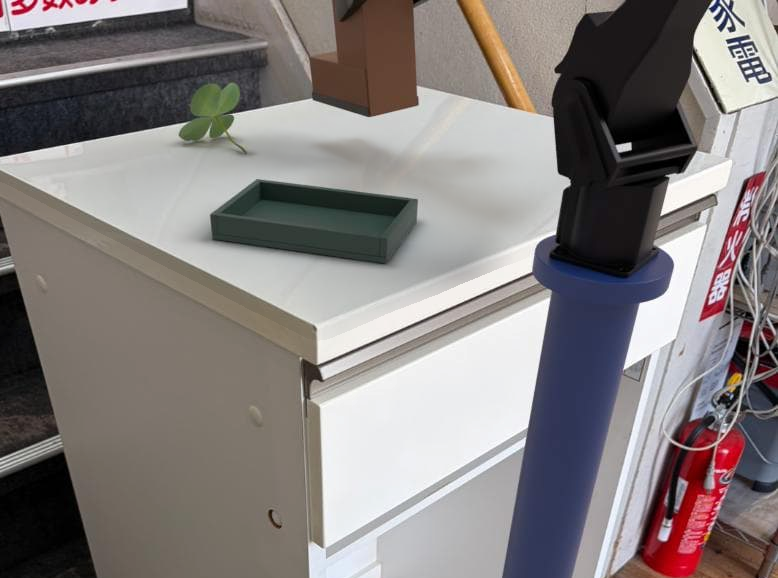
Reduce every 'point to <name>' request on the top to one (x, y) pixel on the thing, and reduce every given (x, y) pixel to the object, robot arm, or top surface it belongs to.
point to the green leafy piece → (211, 112)
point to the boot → (369, 61)
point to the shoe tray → (316, 220)
